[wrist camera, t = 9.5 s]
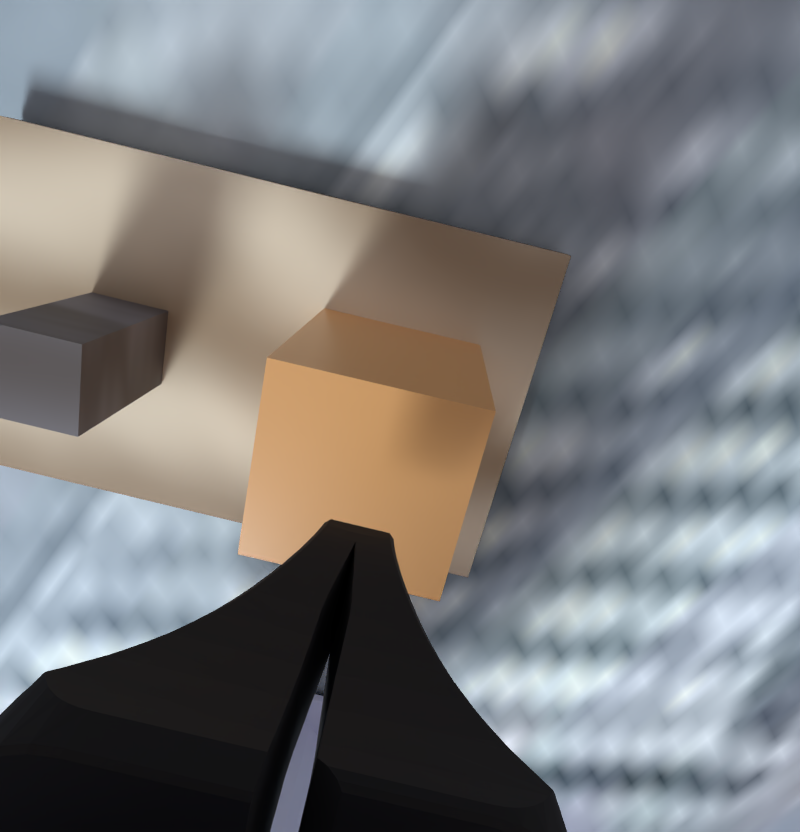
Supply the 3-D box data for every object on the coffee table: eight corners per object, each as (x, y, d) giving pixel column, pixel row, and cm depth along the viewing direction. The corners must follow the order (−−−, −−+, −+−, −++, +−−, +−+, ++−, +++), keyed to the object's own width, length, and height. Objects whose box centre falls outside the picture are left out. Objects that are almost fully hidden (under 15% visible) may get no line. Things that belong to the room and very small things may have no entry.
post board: (467, 565, 23) (473, 676, 18) (13, 455, 23) (-122, 534, 18) (566, 253, 19) (613, 274, 14) (14, 118, 19) (-161, 84, 13)
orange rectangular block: (441, 485, 21) (439, 601, 15) (298, 451, 21) (237, 554, 15) (480, 344, 19) (495, 411, 13) (324, 308, 19) (266, 357, 13)
